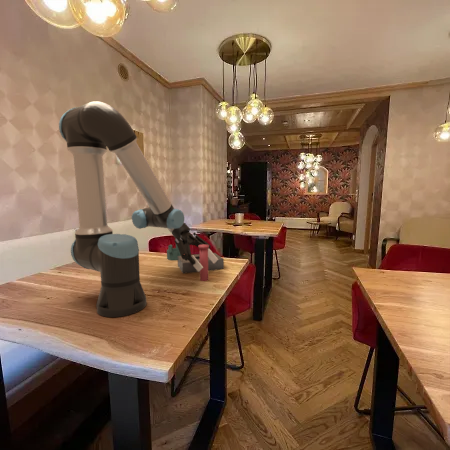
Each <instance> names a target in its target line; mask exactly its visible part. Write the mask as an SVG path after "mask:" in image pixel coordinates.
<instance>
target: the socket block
mask: <svg viewBox="0 0 450 450" xmlns="http://www.w3.org/2000/svg"><path fill="white" fill-rule="evenodd" d="M212 253H213V254H214V255H215V256H216V257H217V258H218V260H217V261H216V262H215V263H213V262H212V261H211V260H210V258H209V257H208V272H210V271H218V270H225V268H224V267H225V265H224V264H225V263H224V262H225V259H224V258H223V257H222V256H220V255H218V254H217V253H216V252H212ZM192 255H194V257H195V258H196V259H197V260H198V261H199V263H200V255H199V253H198V254H191V256H192ZM177 267H178V268H179V270H180V271H181V274H191V273H200V271H199V272H198V271H197V270H196V268H195V267H194V266H193V265H192V264H191V263H190V261H189V260H187V261H186V260H185V259H182V257H181V256H178V260H177Z"/></svg>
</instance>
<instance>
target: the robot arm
mask: <svg viewBox="0 0 450 450" xmlns="http://www.w3.org/2000/svg"><path fill="white" fill-rule="evenodd" d="M58 129H59V133H60V135H61V137H62V139H64V141H65V142H66V149H67V150H68V151H69V152H70V153H71V154H72V155H73V165H74V167H73V168H74V177H75V187H76V188H75V189H76V200H77V209H78V211H77V212H78V222H79V223H78V224H79V228H78V229H77V230H75V232H74V235H75V236H74V237H75V239H74V241H73V242H72V243H71V246H70V256H71V258H72V260H73V261H74V262H75V264H77V265H79V266H80V267H81V268H83V269H87V270H91V271H96V272H99V274H100V285H101V287H100V290H99V293H98V298H97V301H96V312H97V314H98V315H99V316H101V317H105V318H119V317H127V316H129V315H133V314H135V313H138V312H140V311H142V310H143V309H144V308H145V307H146V306H147V295H146V294H145V291H144V288H143V286H142V283H141V277H140V249H139V243H138V240H137V238H136V237H135V236H133V235H129V234H126V233H125V234H124V233H123V234H120V233H114V231H113V229H112V228H111V227H110V226H108V217H107V214H108V213H107V203H106V200H107V199H106V189H105V188H106V187H105V177H104V174H105V173H104V164H103V156H104V155H105V153H107V152H108V150H109V152H110V153H114V154H115V156H116V157H117V158H118V160H119V162H120V163H121V165H122V166H123V168H124V170H125V171H126V173H127V175H128V176H129V177H130V178H131V180H132V182H133V183H134V185H135V187H136V188H137V189H138V191H139V193H140V194H141V196H142V198H143V199H144V200H145V202H146V203H147V205H148V207H146V208H140V209H138V210H134V211H132V215H131V221H132V224H133V226H135V228H136V229H139V230H141V229H146V228H149V227H151V228H163V229H167V230H168V231H169V232H170V233H171V235H172V237H174V243H175V245H176V244H177V246H178V249H179V251H180V254H181V257H182V259H185V260H186V261H187V260H189V261H190V263H191V264H192V265H193V266H194V267H195V268H196V270H197V271H198V272H197V273H200V272H199V271H200V270H201V269H202V268H203V266H202V265H201V264H200V263H199V261H198V260H197V259H196V258H195V257H194V255H195V254H192V251H191V246H195V247H196V248H198V245H202V244H206V245H209V248H208V257H209V258H210V260H211V261H212V262H213V263H215V262H216V261H217V260H218V258H217V257H216V256H215V255H214V254H213V253H214V252H213V251H212V250H211V249H210V248H211V245H210V243H208V242H207V241H206V240H205V239H203V238H202V237H200V236H199V235H198V234H197V233H196V232H193V233H191V232H190V230H191V228H190V227H189V226H188V224H186V223H185V214H184V212H183V211H182V210H181V209H179V208H175V207H174V205H173V204H172V202H171V201H170V198H169V197H168V196H167V194H166V192H165V190H164V188H163V187H162V185H161V183H160V182H159V179H158V178H157V176H156V175H155V172H154V171H153V169H152V167H151V166H150V163H149V162H148V159H147V158H146V157H145V155H144V153H143V151H142V150H141V148H140V146H139V144H138V143H137V142H138V141H137V140H138V136H137V135H136V133H135V131H134V129H133V127H132V126H131V125H130V124H129V122H128V120H126V118H125V117H124V116H123V115H122V114H121V113H120V112H119V110H117V109H116V108H115V107H114V106H113V105H110V104H108V103H107V102H102V101H97V100H95V101H89V102H87V103H85V104H83V105H80V106H77V107H73V108H70V109H68V110H66V112H64V113H63V114H62V115H61V117H60V119H59V122H58ZM191 255H192V256H191Z"/></svg>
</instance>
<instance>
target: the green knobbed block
mask: <svg viewBox="0 0 450 450" xmlns="http://www.w3.org/2000/svg"><path fill="white" fill-rule="evenodd" d="M167 248H168V249H166V260H167V259H168V261H178V256H181V254H180V251H179V249H178V246H177V244H176V243H175V247H173V245H172V244H169V245H168V247H167Z"/></svg>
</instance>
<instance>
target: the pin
mask: <svg viewBox="0 0 450 450" xmlns="http://www.w3.org/2000/svg"><path fill="white" fill-rule="evenodd" d="M209 245H210V244H209ZM209 245H206V244H202V245H198V247H197V248H198V250H199V253H198V254H199V255H200V264H201V265H202V266H203V268H202V269H201V270H200V272H199V281H200V282H207V281H209V271H208V248H209ZM209 249H210V248H209Z"/></svg>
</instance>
